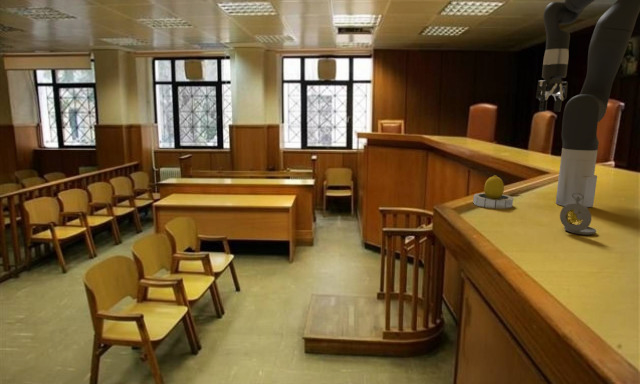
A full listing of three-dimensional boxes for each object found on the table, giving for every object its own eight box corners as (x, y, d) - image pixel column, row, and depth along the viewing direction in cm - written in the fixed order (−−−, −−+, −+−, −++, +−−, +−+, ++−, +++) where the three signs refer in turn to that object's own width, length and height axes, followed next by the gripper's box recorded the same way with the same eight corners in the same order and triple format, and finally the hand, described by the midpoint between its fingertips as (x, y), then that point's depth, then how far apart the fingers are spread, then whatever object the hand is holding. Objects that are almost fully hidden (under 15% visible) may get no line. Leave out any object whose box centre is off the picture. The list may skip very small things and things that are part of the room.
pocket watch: (591, 230, 107) (597, 189, 105) (601, 239, 99) (607, 196, 97) (554, 226, 109) (559, 187, 107) (560, 235, 102) (566, 193, 100)
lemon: (500, 204, 130) (503, 177, 128) (481, 201, 133) (483, 175, 131) (504, 200, 134) (506, 175, 133) (485, 198, 137) (487, 173, 136)
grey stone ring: (519, 206, 132) (520, 198, 131) (496, 210, 126) (496, 201, 126) (489, 199, 141) (490, 191, 140) (465, 202, 135) (466, 194, 135)
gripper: (556, 65, 157) (551, 111, 160) (532, 63, 150) (527, 111, 153) (577, 64, 151) (571, 111, 154) (553, 61, 144) (547, 111, 147)
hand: (549, 111), depth 153 cm, fingers open, 8 cm apart
